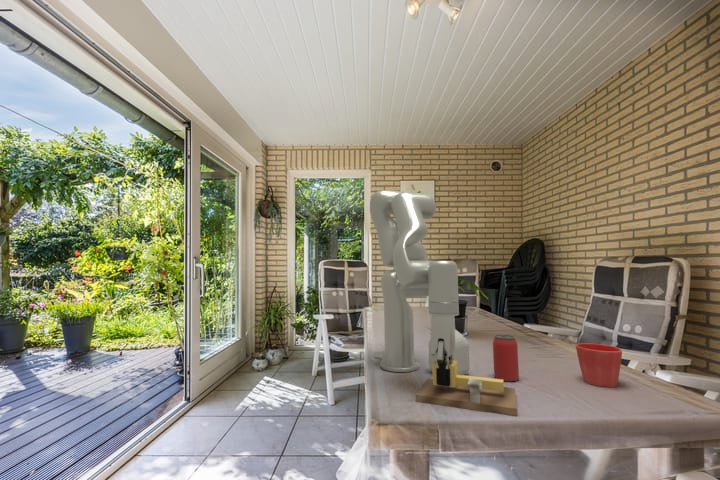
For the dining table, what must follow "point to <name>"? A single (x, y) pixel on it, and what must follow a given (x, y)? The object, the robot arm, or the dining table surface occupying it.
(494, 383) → the link
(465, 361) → the soap bottle
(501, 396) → the bracket base
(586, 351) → the flower pot
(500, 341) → the beer can
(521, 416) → the dining table surface
